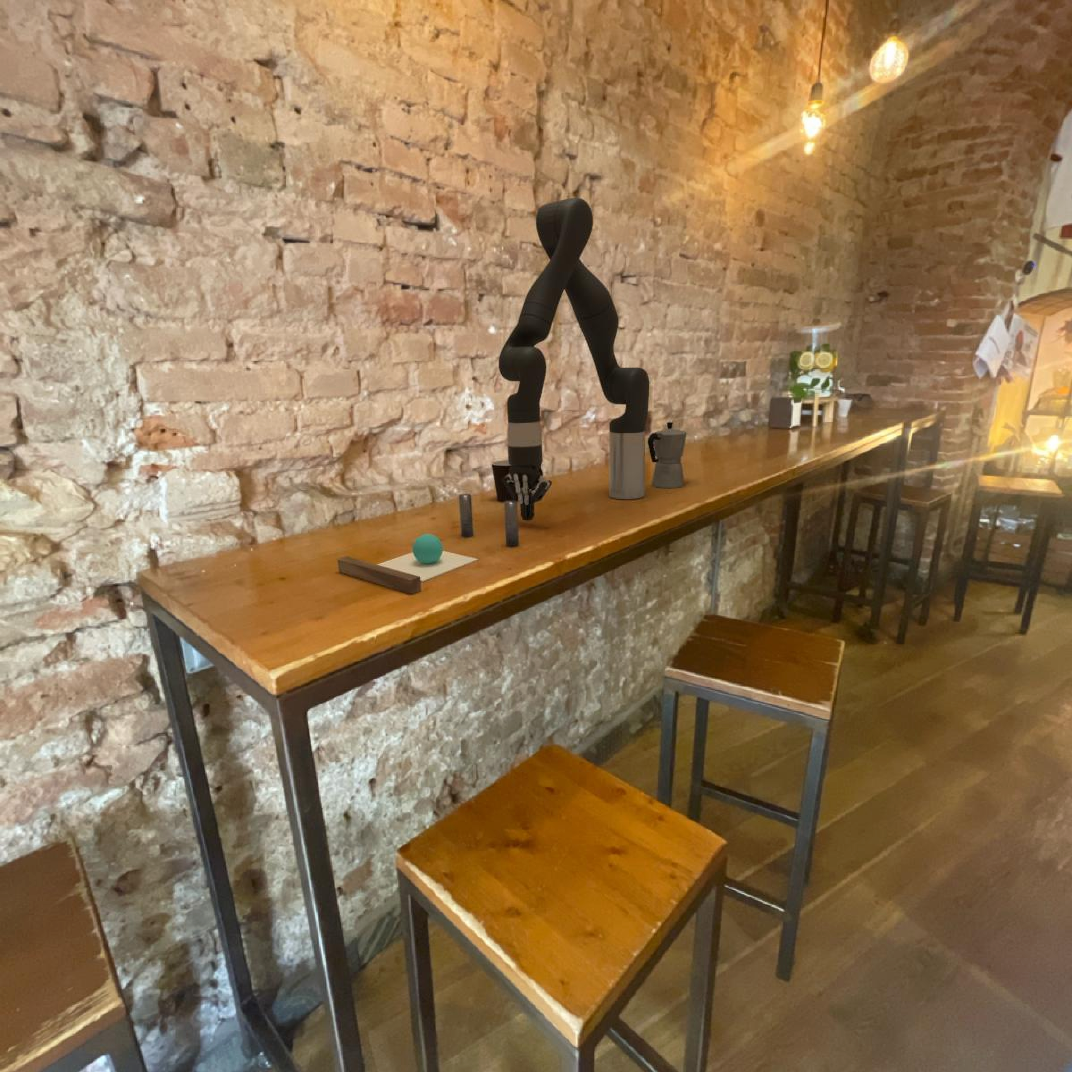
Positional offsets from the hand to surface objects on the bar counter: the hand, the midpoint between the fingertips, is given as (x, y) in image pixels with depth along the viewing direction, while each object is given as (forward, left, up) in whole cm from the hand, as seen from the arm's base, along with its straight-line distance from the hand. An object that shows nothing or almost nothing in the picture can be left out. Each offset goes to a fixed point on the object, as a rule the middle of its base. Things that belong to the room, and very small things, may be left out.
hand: (527, 519), depth 139 cm
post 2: (+13, +6, -2) cm, 15 cm away
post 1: (+13, -6, -2) cm, 15 cm away
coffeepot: (-54, +7, -2) cm, 55 cm away
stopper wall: (+42, 0, -2) cm, 42 cm away
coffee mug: (-20, -20, -2) cm, 28 cm away
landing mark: (+31, 0, -2) cm, 31 cm away
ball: (+30, 0, +1) cm, 30 cm away
